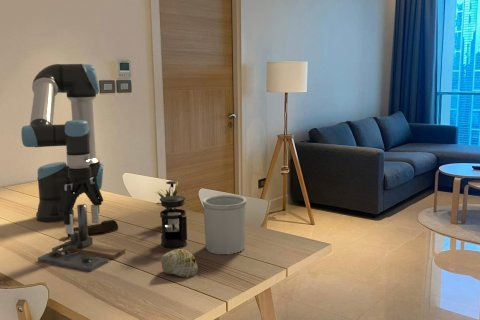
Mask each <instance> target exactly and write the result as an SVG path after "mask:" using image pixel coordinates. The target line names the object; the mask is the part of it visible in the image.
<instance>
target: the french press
mask: <svg viewBox="0 0 480 320" xmlns="http://www.w3.org/2000/svg"><path fill="white" fill-rule="evenodd" d="M165 184H166V185H170V186H171V195H170V196H164V197H162V198H161V197H160V198H159V202H160V203H161V204H160V206H161V207H163V208H165V207H166V208H167V207H168V208H172V209H167V210H164V209H162V210H163V211H162V210H161V211H160V213H159V214H160V215H159V216H160V218H161V235H160V236H161V237H160V241H161V242H160V246H161V248H163V249H166V250H167V249H168V250H175V249H182V248H185V247H186V246H187V245H188V241H187V240H188V229H187V227H188V226H187V225H188V223H187V216H186V215H187V214H186V210H185V209H181V208H180V207H184V205H185V204H184V203H185V200H186V199H185V198H186V197H185V196H182V195H179V196H178V195H176V196H173V192H174V190H173V189H174V185H177V184H179V182H178V181H177V180H169V181H166V183H165ZM173 207H176V209H173ZM173 212H178V213H179V215H174V213H173ZM168 213H172V214H173V216H169V215H168ZM163 214H164V215H163ZM168 219H173V224H168ZM174 219H178V224H174Z"/></svg>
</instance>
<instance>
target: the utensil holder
mask: <svg viewBox="0 0 480 320" xmlns="http://www.w3.org/2000/svg"><path fill="white" fill-rule="evenodd" d="M246 204H247V198H246V197H244V196H242V195H238V194H229V193H228V194H227V193H225V194H215V195H214V194H212V195H210V196H207V197H204V198H203V199H202V205H203V218H204V219H203V220H204V221H203V222H204V239H205V249H206V250H207V252H209V253H211V254H214V255H220V254H228V255H234V254H233V253H235V254H238V253H237V252H239V253H240V251H241V252H242V251H244V250H245V246H246ZM243 249H244V250H243Z"/></svg>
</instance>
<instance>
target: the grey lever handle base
mask: <svg viewBox="0 0 480 320" xmlns="http://www.w3.org/2000/svg"><path fill="white" fill-rule="evenodd" d="M69 239H70V240H68V241H67V242H64V243H61V244H59V245H56V246H54V247H52V248H51V252H52V253H53V254H54V253H55V252H56V250H62V249H65V248H67V247H69V246H72V245H74V244H76V243H75V241H76V240H79V231H74V234H70V238H69ZM68 252H71V253H77V254H82V255H88V256H94V257H99V258H105V259H108V260H109V259H110V260H115V259H118V258H119V257H122V256H123V255H125V254H126V249H125V248H121V247H116V246H115V247H114V246H109V245H104V244H103V245H101V244H96V243H93V244H91V245H89V246H86V247H84V248H79V247H76V248H74V249H72V250H69V251H68Z"/></svg>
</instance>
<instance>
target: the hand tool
mask: <svg viewBox="0 0 480 320" xmlns="http://www.w3.org/2000/svg"><path fill="white" fill-rule="evenodd" d="M73 229H74V231H79V227H78V226H75V227H73ZM118 230H119V224H118V223H117V221H116V220H114V219H108V220H103V221H101V222H100V223H99V224H96V223H94V224H90V225H88V235H92V234H97V233H103V234H106V233H107V234H109V233H111V232H115V231H118ZM66 234H67V233H66ZM67 238H68V239H70V234H67Z"/></svg>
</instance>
